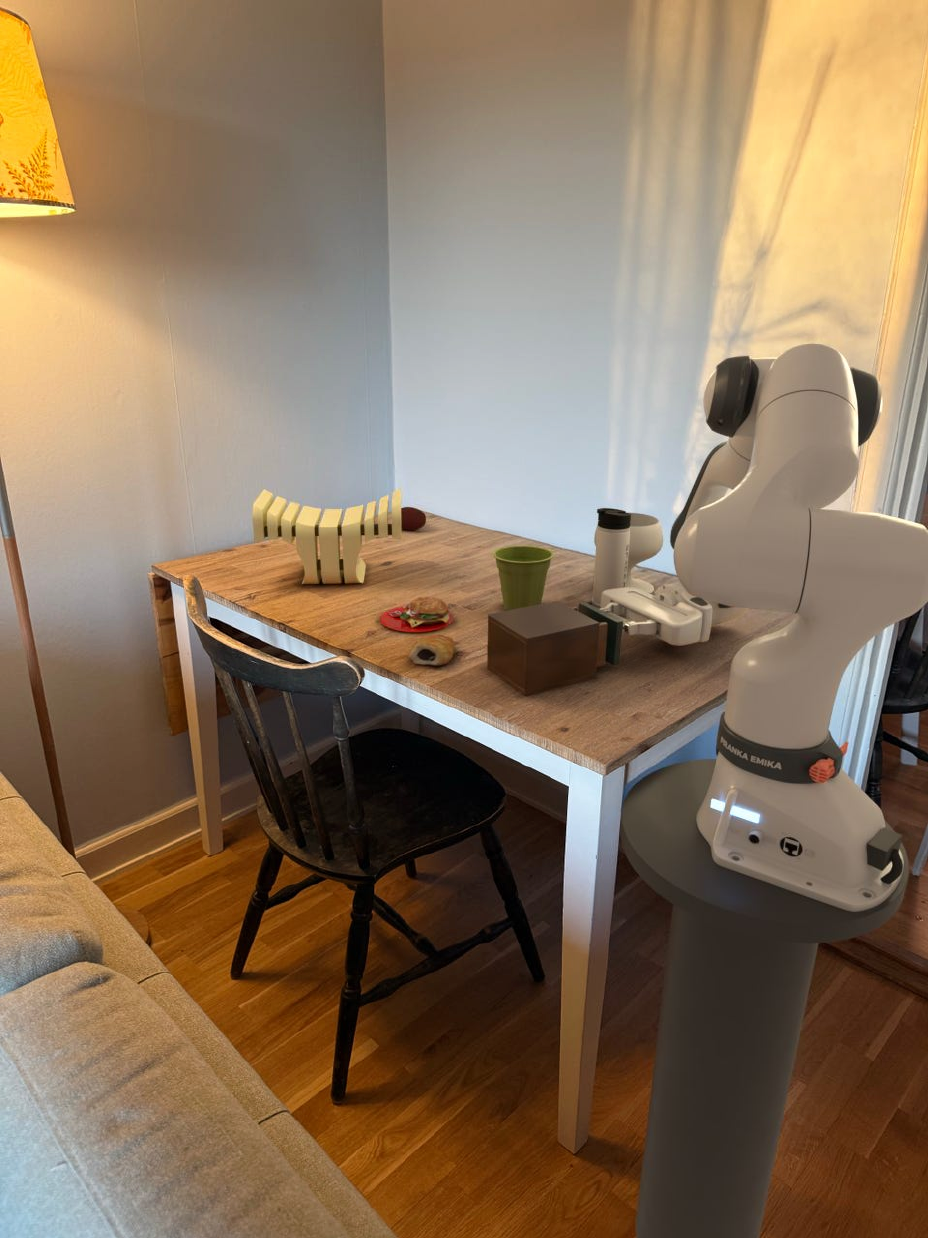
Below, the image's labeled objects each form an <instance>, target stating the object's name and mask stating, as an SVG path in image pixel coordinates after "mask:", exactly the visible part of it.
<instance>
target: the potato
mask: <svg viewBox="0 0 928 1238" xmlns="http://www.w3.org/2000/svg"><path fill="white" fill-rule="evenodd" d="M426 523H427V515H426V514H425V513H424V511H422V510H421V509H418V508H416V507H414V506H413V507H412V506H403V507H401V530H406V531H417V530H421V528H423V527H424V526H425V525H426Z"/></svg>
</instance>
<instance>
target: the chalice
mask: <svg viewBox="0 0 928 1238" xmlns="http://www.w3.org/2000/svg"><path fill="white" fill-rule="evenodd" d="M628 513H629V514H631V522H630V526H631V527H630V540H629V553H628V565H627V578H626V587H634V588H638V589H641V590H643V591H645V592H648V593H650V594H652V593H653V592H655V587H654V586H653V584H651V583H650V582H648V581H646V580H643V579H640V578H635V577H631V572H632V569H633V568H634V567H635V566H637V565H638V564H640V563H642V562H645V561H647V560H649V559H653V557H655V556H657V554H659V553H660V551H661V550H662V549H663V547H664V546H663V545H664V533H663V529H662V524H661V522H660V520H659V519H658V518H657V517H655V516H653V515H649V514H644V513H638V512H628ZM593 539H594V540H593V543H594V546H595V547H596V539H597V527H596V528H595V532H594V538H593Z"/></svg>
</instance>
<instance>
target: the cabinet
mask: <svg viewBox="0 0 928 1238" xmlns="http://www.w3.org/2000/svg"><path fill="white" fill-rule="evenodd" d="M570 607H571V606H568V605H567V604H564V603H563V602H561V601H559V600H553V601H548V602H543V603H541V604H538V605H533V606H528V607H523V608H518V609H513V610H503V611H497V612H493V613H489V614H487V662H486V668H487V669H488V670H489V671H490V672H491V673H493V674H494V675H496V677H498V678H499V679H501V680H502V681H504V682H505V683H506V684H508V685H509V686H511V687H512V688H514V689H515V690H516V691H517V692H519V693H520V694H522V695H523V696H525V697H527V696H530V695H535V694H538V693H543V692H546V691H547V692H548V691H550V690H554V689H559V688H561V687H562V688H563V687H566V686H570V685H574V684H578V683H582V682H585V681H590V680H593V679H596V678H597V654H598V639H599V624H600V623H599V622H597V621H595V620H593V619H591V618H589V617H587V616H586V615H584V614H582V613H580V612H578V610H577V611H576V610H574V609H572V608H570Z"/></svg>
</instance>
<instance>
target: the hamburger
mask: <svg viewBox="0 0 928 1238" xmlns="http://www.w3.org/2000/svg"><path fill="white" fill-rule="evenodd" d="M454 617H455V616H454V615H453V614H452V612H450V611H449V606H448V605H447V603H446V602H445V601H444V600H443V599H440V598H437V597H431V596H418V597H416V598H414V599H413V600H411V601H410V602H409V603H408V604H406V605H402V606H396V607H393V608H390V609H388V610H386V611H384V612H383V613H382V614H381V615H380V616H379V622H380V623H381V624H382V625H383V626H384V627H386V628H389V629H391V630H395V631H399V632H409V633H421V632H431V631H435V630H440V629H443V628H445V627H447V626H449V625H450V624H452V622H453V621H454Z"/></svg>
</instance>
